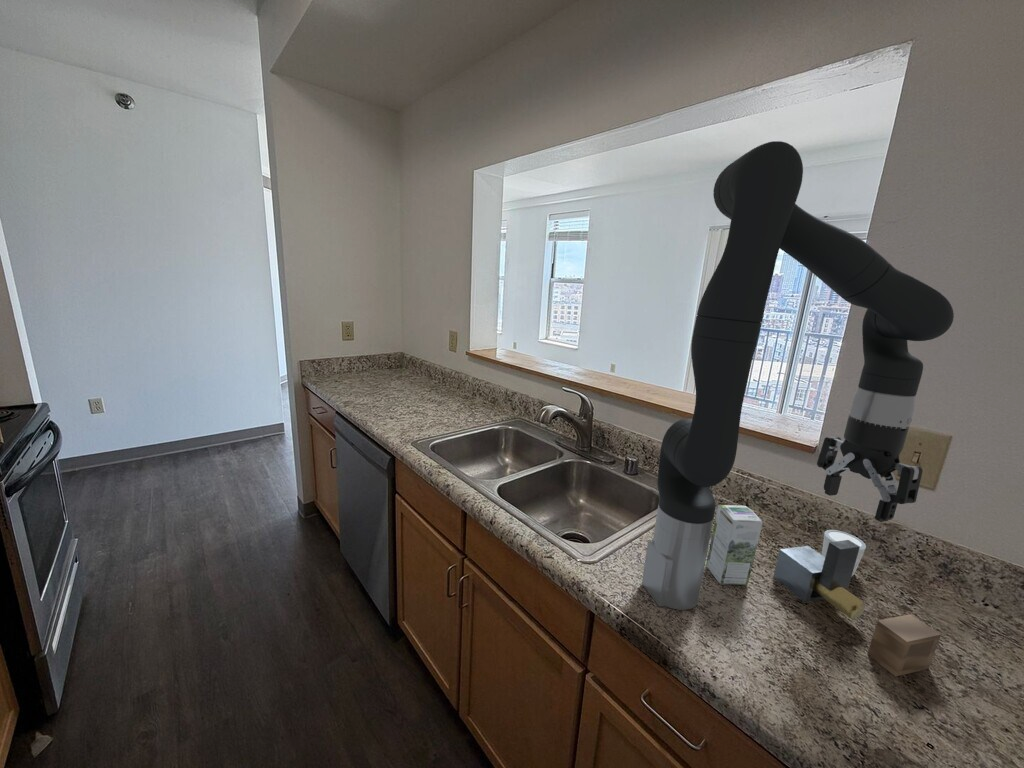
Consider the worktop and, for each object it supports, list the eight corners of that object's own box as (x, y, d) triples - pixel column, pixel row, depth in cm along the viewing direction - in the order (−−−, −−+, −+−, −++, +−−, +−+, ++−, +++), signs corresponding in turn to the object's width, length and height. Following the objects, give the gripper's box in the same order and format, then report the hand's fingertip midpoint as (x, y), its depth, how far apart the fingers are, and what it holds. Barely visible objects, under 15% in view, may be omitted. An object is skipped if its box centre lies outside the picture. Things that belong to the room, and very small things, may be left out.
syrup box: (732, 566, 85) (745, 503, 82) (749, 586, 79) (763, 520, 76) (705, 565, 85) (717, 502, 81) (720, 586, 79) (733, 519, 76)
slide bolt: (780, 570, 83) (792, 519, 80) (797, 567, 84) (810, 517, 81) (844, 620, 70) (861, 562, 68) (864, 617, 71) (881, 559, 69)
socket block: (867, 653, 66) (877, 620, 64) (899, 646, 67) (910, 614, 66) (895, 676, 62) (907, 641, 60) (928, 668, 64) (940, 634, 62)
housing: (773, 577, 83) (779, 549, 81) (801, 572, 84) (807, 545, 83) (804, 602, 76) (812, 573, 74) (834, 597, 78) (842, 568, 76)
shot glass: (814, 566, 86) (821, 537, 85) (820, 553, 91) (827, 525, 90) (855, 584, 82) (864, 553, 80) (859, 569, 87) (868, 539, 85)
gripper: (819, 405, 73) (800, 488, 76) (912, 434, 59) (883, 533, 63) (852, 404, 74) (831, 485, 78) (949, 431, 61) (918, 528, 65)
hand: (854, 506), depth 71 cm, fingers open, 8 cm apart
